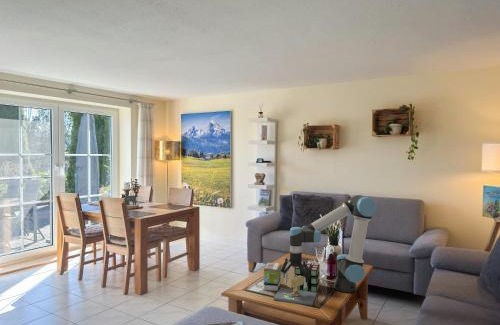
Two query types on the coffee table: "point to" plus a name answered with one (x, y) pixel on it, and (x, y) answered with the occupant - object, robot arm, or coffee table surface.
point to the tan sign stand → (295, 284)
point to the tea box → (272, 276)
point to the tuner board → (303, 298)
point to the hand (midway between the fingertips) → (295, 285)
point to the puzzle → (313, 279)
